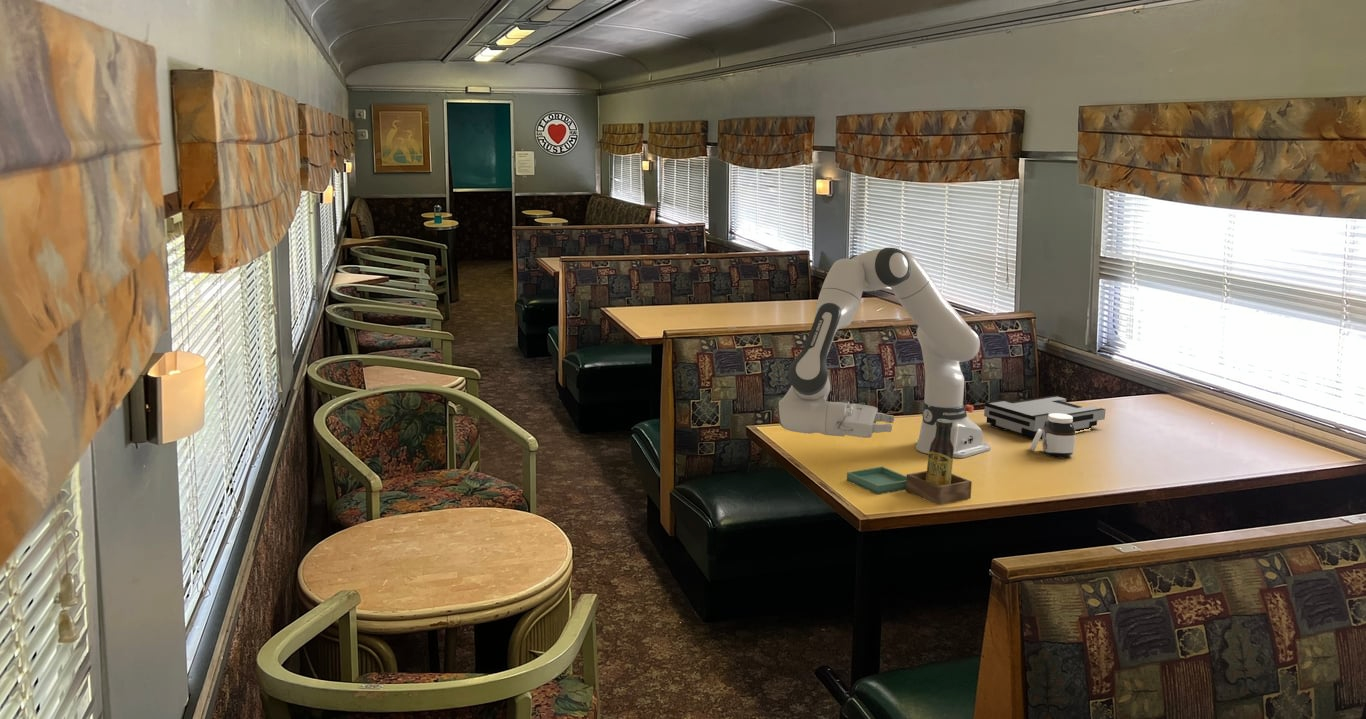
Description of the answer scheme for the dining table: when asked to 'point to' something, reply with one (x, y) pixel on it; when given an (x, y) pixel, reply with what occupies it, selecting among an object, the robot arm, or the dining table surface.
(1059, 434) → the spread jar
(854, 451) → the dining table surface
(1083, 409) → the game console
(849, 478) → the tray
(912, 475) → the caddy
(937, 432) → the sauce bottle
